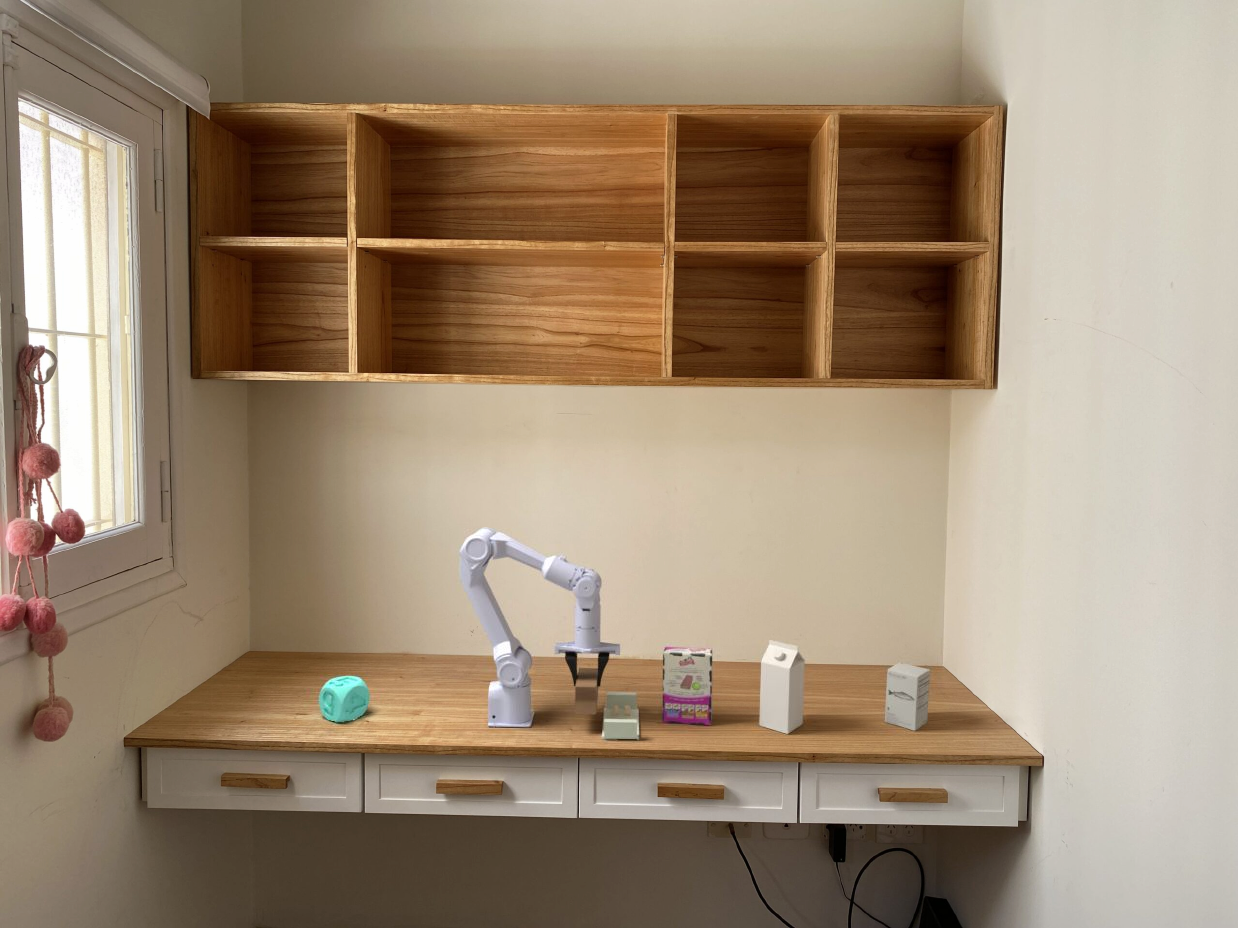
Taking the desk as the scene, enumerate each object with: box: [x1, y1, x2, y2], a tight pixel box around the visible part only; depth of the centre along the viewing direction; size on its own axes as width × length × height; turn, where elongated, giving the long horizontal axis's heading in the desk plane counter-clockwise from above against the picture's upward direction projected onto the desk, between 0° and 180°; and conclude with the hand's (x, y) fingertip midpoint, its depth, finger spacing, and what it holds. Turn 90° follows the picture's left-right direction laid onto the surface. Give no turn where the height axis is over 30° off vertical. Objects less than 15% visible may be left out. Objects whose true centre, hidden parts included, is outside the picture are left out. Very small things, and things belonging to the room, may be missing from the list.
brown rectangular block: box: [574, 667, 599, 715], centre depth 183 cm, size 12×4×6 cm, turn 179°
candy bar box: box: [661, 646, 713, 726], centre depth 186 cm, size 11×5×16 cm, turn 82°
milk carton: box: [759, 639, 806, 735], centre depth 183 cm, size 7×7×19 cm
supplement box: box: [884, 662, 932, 732], centre depth 186 cm, size 7×7×13 cm
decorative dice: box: [318, 675, 371, 723], centre depth 186 cm, size 8×8×8 cm
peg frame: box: [601, 691, 640, 741], centre depth 183 cm, size 17×8×4 cm, turn 179°
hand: (587, 684), depth 183 cm, fingers closed on brown rectangular block, 4 cm apart
